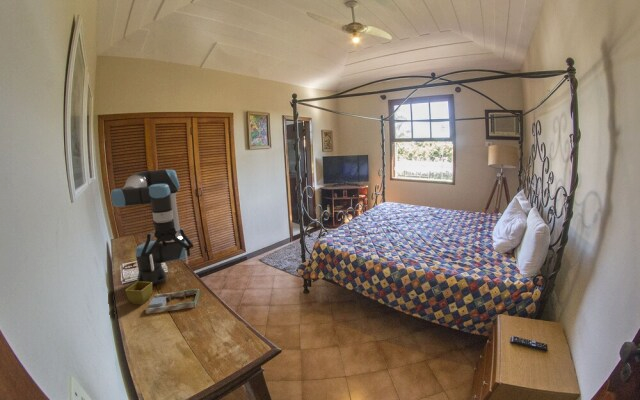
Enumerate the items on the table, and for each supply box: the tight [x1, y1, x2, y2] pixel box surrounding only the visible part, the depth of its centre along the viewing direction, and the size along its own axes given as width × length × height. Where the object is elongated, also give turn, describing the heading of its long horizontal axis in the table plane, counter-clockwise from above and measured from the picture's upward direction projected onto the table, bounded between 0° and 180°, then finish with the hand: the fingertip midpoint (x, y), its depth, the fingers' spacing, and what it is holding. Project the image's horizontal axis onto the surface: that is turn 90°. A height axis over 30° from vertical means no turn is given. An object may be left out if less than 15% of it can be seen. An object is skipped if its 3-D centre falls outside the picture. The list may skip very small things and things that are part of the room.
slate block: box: [148, 296, 167, 308], centre depth 142 cm, size 6×6×4 cm
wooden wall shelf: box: [145, 288, 201, 315], centre depth 145 cm, size 22×13×3 cm, turn 103°
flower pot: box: [124, 281, 153, 305], centre depth 146 cm, size 9×9×9 cm
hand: (170, 266), depth 126 cm, fingers open, 13 cm apart
